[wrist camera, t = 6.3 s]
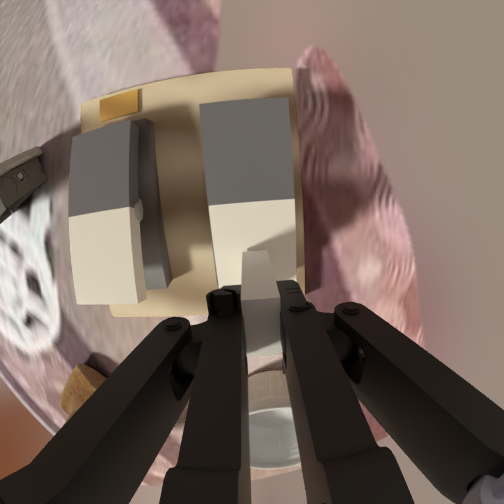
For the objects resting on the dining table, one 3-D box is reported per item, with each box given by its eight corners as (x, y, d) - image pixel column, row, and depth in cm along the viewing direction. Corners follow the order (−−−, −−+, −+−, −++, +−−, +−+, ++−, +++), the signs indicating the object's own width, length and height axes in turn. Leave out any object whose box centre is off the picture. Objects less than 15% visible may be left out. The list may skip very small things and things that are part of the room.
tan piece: (119, 439, 33) (95, 509, 18) (59, 398, 30) (21, 462, 16) (161, 406, 30) (134, 503, 15) (84, 352, 27) (26, 438, 13)
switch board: (91, 107, 20) (69, 100, 16) (287, 75, 20) (295, 59, 16) (120, 307, 25) (104, 326, 22) (300, 296, 25) (309, 317, 22)
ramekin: (199, 408, 30) (193, 451, 23) (258, 341, 27) (262, 389, 20) (284, 437, 32) (289, 476, 26) (348, 382, 29) (366, 423, 23)
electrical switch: (43, 143, 20) (-19, 153, 12) (60, 185, 22) (0, 208, 13) (0, 189, 21) (-53, 211, 12) (15, 225, 23) (-35, 256, 14)
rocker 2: (204, 110, 16) (199, 104, 14) (282, 104, 16) (288, 97, 14) (222, 280, 20) (220, 296, 18) (290, 274, 20) (296, 290, 18)
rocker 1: (88, 145, 18) (72, 136, 15) (143, 131, 18) (130, 119, 15) (93, 297, 18) (77, 304, 16) (150, 296, 18) (138, 303, 16)
